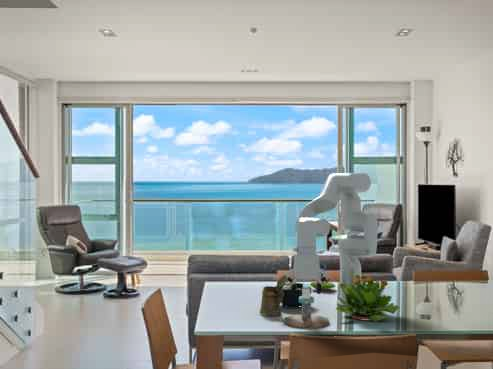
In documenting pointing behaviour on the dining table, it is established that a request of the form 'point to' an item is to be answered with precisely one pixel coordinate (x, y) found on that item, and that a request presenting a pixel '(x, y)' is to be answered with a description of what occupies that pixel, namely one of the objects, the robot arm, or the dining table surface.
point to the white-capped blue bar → (306, 295)
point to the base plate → (303, 323)
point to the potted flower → (366, 299)
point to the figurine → (325, 284)
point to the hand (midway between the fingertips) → (306, 293)
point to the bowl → (292, 295)
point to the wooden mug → (272, 298)
